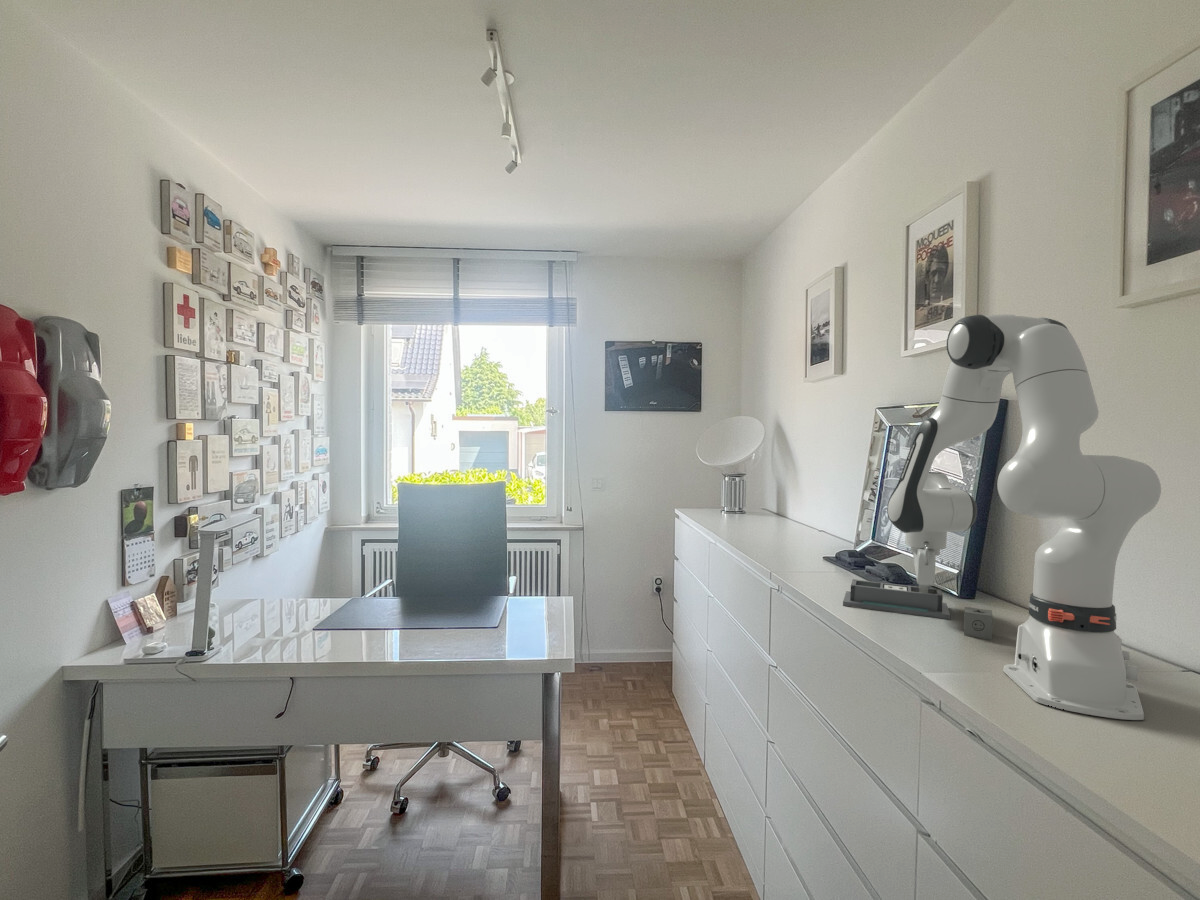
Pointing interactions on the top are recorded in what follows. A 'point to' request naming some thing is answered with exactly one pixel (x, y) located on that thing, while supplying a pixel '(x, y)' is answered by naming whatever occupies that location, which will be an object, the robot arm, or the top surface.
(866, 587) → the grey slotted tray
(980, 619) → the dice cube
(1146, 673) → the top surface
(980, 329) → the robot arm
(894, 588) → the grey key
